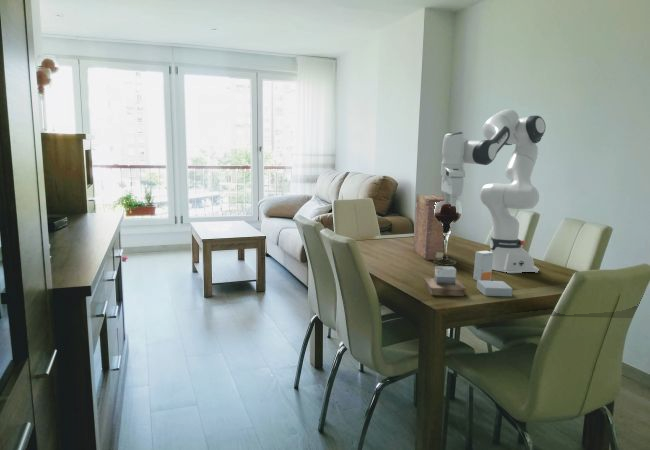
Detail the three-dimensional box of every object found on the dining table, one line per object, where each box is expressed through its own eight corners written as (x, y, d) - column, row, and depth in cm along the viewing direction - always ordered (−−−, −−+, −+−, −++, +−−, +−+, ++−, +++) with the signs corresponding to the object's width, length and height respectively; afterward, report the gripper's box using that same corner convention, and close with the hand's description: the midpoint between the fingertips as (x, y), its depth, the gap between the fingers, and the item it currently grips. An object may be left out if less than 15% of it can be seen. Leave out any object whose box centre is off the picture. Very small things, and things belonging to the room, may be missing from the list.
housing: (452, 281, 182) (453, 266, 181) (455, 285, 178) (456, 269, 177) (434, 281, 182) (435, 266, 181) (436, 284, 178) (437, 269, 177)
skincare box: (480, 281, 194) (482, 253, 192) (472, 279, 198) (475, 251, 196) (491, 280, 196) (493, 252, 194) (484, 278, 200) (486, 250, 198)
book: (413, 249, 256) (416, 194, 251) (430, 249, 256) (433, 194, 251) (425, 260, 231) (428, 199, 226) (444, 260, 231) (447, 199, 226)
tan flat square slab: (456, 286, 187) (457, 278, 186) (465, 296, 174) (466, 288, 173) (423, 285, 187) (424, 278, 186) (430, 295, 174) (431, 287, 174)
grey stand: (502, 288, 185) (502, 281, 185) (511, 296, 175) (512, 288, 175) (476, 287, 185) (477, 280, 185) (484, 295, 175) (485, 287, 175)
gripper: (438, 170, 206) (436, 201, 208) (450, 172, 186) (448, 207, 188) (453, 170, 206) (451, 201, 208) (466, 173, 186) (464, 207, 188)
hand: (450, 204), depth 198 cm, fingers open, 8 cm apart
